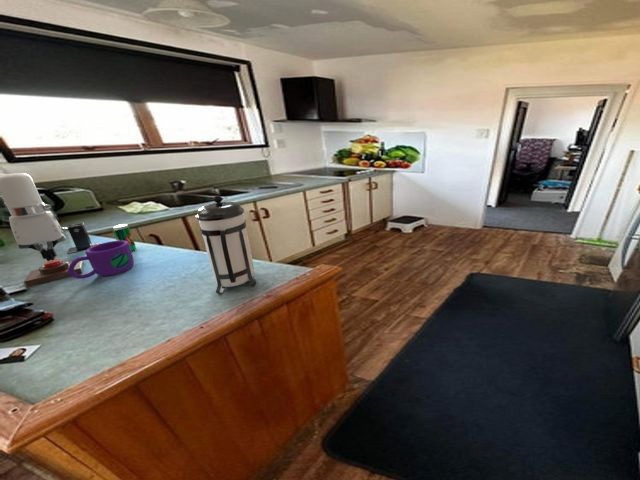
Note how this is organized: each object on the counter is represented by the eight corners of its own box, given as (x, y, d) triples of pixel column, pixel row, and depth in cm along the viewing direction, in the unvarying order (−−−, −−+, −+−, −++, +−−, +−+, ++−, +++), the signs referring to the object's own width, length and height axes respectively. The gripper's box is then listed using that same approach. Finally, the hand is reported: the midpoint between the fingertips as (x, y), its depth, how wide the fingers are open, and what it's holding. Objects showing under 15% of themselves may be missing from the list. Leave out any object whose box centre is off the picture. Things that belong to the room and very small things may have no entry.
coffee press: (197, 291, 86) (171, 200, 77) (239, 268, 100) (221, 189, 91) (236, 302, 80) (214, 205, 71) (275, 276, 94) (261, 192, 85)
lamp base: (27, 287, 91) (21, 276, 90) (33, 275, 99) (28, 266, 98) (82, 273, 100) (78, 263, 99) (84, 264, 107) (80, 254, 106)
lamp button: (44, 269, 96) (42, 265, 95) (46, 266, 98) (44, 261, 98) (61, 265, 98) (59, 261, 98) (62, 262, 101) (60, 258, 100)
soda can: (120, 252, 117) (110, 226, 114) (135, 248, 121) (126, 223, 117) (123, 255, 115) (113, 228, 111) (138, 250, 119) (129, 225, 115)
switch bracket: (68, 255, 115) (57, 230, 111) (70, 250, 121) (59, 225, 117) (101, 248, 122) (91, 224, 118) (101, 244, 127) (92, 220, 123)
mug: (125, 261, 109) (116, 238, 105) (143, 265, 105) (135, 241, 102) (65, 283, 93) (53, 257, 90) (84, 289, 89) (72, 262, 86)
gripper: (62, 204, 99) (82, 250, 105) (-5, 213, 89) (20, 263, 95) (59, 207, 94) (80, 255, 100) (-13, 217, 84) (15, 270, 90)
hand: (51, 259), depth 97 cm, fingers closed
